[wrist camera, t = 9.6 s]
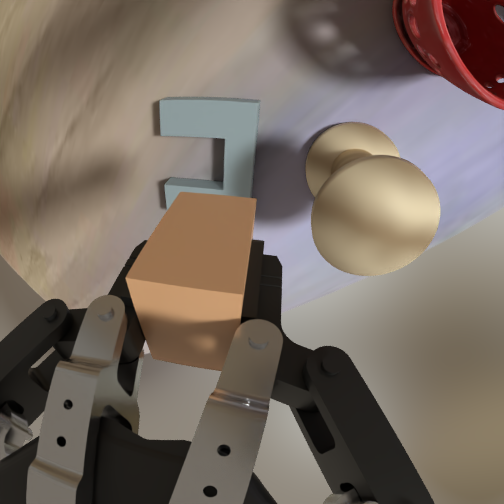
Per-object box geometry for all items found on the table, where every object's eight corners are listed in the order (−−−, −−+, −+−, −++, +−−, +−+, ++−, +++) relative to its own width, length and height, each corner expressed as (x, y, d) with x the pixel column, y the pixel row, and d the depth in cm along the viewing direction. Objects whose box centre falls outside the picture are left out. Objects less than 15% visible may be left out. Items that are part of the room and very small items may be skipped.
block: (180, 191, 10) (125, 277, 6) (256, 198, 10) (242, 294, 6) (185, 268, 13) (153, 358, 9) (248, 276, 13) (235, 373, 9)
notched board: (167, 97, 25) (159, 100, 23) (260, 100, 25) (258, 103, 23) (172, 205, 34) (167, 213, 33) (250, 214, 34) (247, 223, 32)
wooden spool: (314, 112, 25) (328, 144, 16) (409, 136, 24) (459, 180, 16) (298, 202, 32) (299, 267, 24) (382, 217, 31) (408, 281, 23)
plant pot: (375, -37, 12) (422, -75, 3) (478, 5, 10) (547, 8, 1) (376, 68, 20) (431, 80, 11) (475, 99, 19) (544, 135, 10)
